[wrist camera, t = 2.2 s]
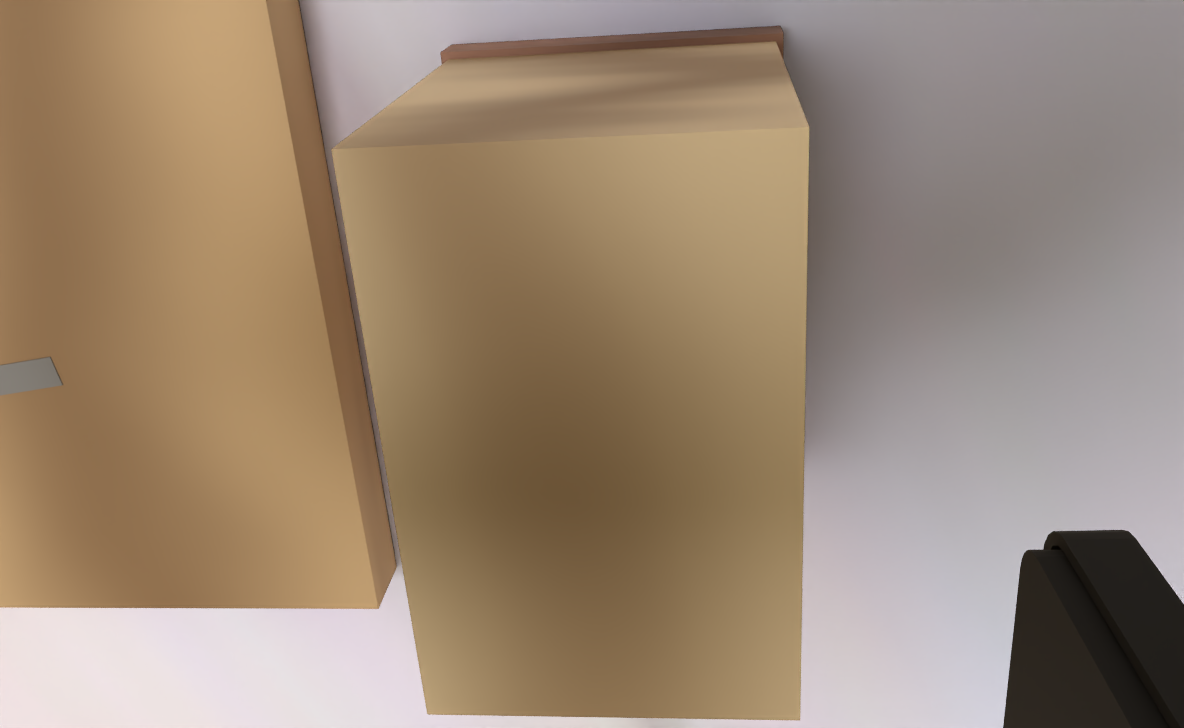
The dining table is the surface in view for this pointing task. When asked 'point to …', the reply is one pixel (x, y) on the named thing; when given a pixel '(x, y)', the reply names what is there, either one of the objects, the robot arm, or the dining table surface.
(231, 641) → the dining table surface
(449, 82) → the block
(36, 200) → the board
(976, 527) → the dining table surface
